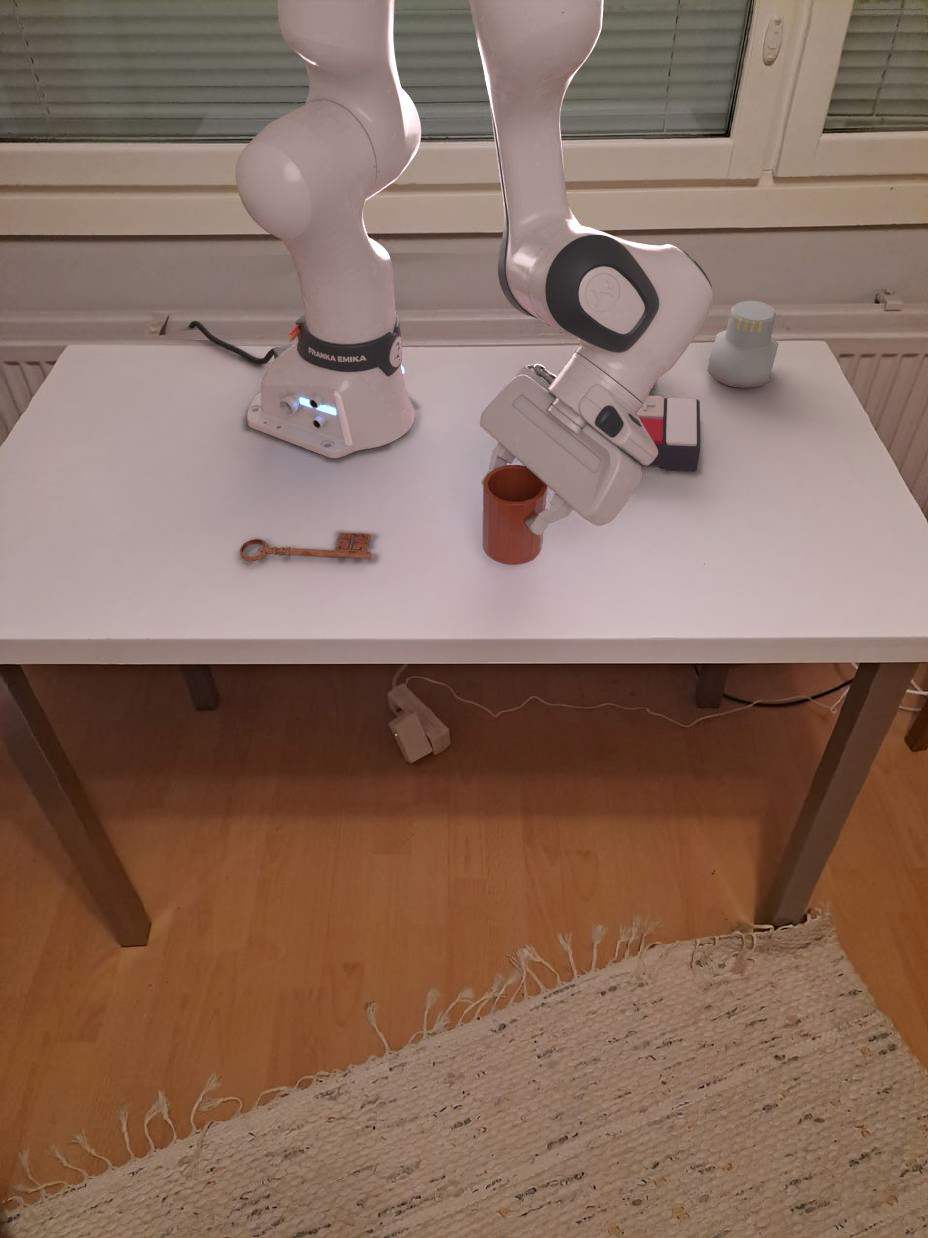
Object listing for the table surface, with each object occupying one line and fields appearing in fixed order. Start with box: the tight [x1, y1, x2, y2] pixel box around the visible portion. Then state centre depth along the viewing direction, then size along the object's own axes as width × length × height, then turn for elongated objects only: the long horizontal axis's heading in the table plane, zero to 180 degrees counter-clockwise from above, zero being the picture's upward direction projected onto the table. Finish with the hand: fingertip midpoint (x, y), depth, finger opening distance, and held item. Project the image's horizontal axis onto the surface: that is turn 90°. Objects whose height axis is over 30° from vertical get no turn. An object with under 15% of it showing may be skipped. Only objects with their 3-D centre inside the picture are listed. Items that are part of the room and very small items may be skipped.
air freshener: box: [707, 300, 779, 389], centre depth 125 cm, size 11×8×10 cm
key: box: [239, 532, 372, 562], centre depth 105 cm, size 6×1×15 cm
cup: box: [481, 464, 548, 566], centre depth 98 cm, size 7×7×8 cm
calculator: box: [636, 395, 701, 472], centre depth 117 cm, size 11×4×15 cm
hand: (509, 509), depth 97 cm, fingers closed on cup, 7 cm apart
